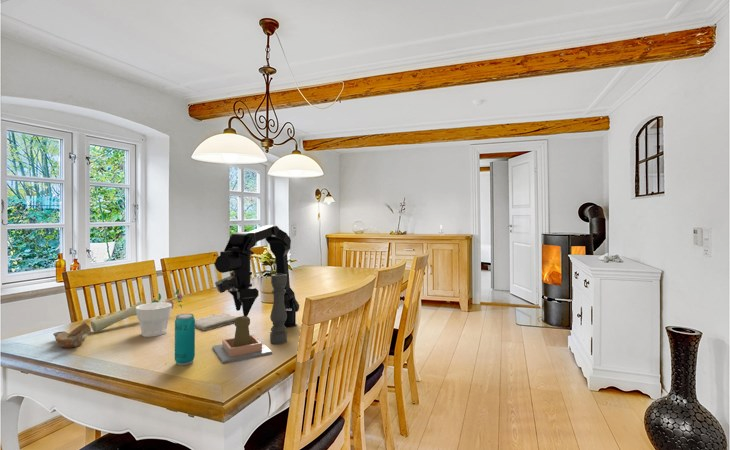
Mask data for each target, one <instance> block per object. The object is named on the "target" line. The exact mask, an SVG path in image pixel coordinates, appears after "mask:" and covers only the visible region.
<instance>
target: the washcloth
mask: <svg viewBox="0 0 730 450" xmlns="http://www.w3.org/2000/svg"><path fill="white" fill-rule="evenodd" d="M237 317H238V316H236V315H231V314H228V313H220V314H219V313H218V314H213V313H212V314H211V315H208V316H203V317H200V318H195V329H199V330H201V331H205V332H206V331H209V330H213V329H217V328H221V327H224V326H228V325H232V324H234V322H235V319H236V318H237Z"/></svg>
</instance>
